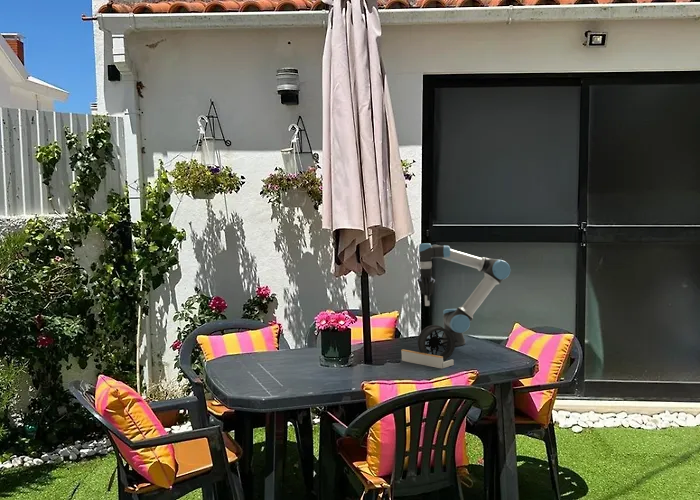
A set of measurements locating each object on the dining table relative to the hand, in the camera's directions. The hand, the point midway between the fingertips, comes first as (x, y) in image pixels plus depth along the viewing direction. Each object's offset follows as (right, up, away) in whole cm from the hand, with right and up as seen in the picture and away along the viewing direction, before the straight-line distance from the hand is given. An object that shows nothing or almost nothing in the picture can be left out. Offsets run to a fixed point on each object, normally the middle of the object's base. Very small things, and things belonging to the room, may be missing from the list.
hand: (427, 305), depth 404 cm
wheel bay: (-4, -31, -30) cm, 43 cm away
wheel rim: (+3, -30, -24) cm, 39 cm away
